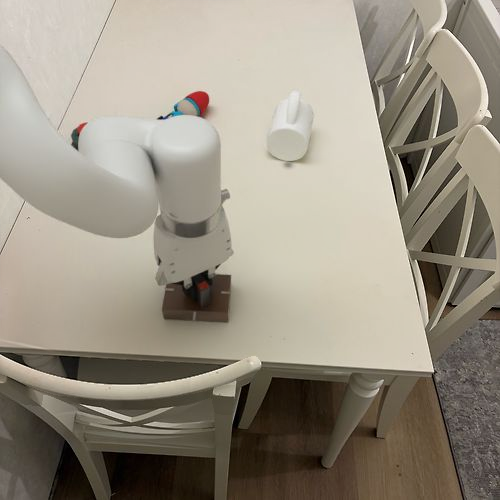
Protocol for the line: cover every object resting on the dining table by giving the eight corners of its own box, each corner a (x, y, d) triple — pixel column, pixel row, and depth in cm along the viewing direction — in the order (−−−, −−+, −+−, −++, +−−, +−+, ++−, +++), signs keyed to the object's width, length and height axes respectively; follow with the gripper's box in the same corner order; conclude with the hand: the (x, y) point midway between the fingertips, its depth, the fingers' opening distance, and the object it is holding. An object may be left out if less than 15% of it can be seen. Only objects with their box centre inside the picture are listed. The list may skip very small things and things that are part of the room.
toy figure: (172, 150, 101) (220, 109, 106) (165, 132, 97) (216, 91, 102) (148, 136, 105) (197, 97, 110) (141, 118, 101) (192, 79, 106)
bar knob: (184, 279, 76) (182, 261, 72) (193, 275, 77) (192, 257, 73) (201, 308, 73) (200, 291, 69) (210, 303, 74) (210, 286, 70)
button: (95, 141, 94) (93, 134, 93) (77, 140, 94) (75, 133, 93) (100, 130, 96) (98, 122, 95) (82, 128, 96) (80, 121, 95)
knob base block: (161, 328, 74) (159, 318, 72) (170, 273, 80) (169, 262, 78) (228, 331, 74) (228, 321, 72) (232, 277, 80) (232, 266, 78)
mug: (264, 158, 99) (269, 108, 89) (273, 126, 105) (278, 77, 96) (304, 164, 98) (313, 115, 89) (310, 132, 104) (319, 83, 95)
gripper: (232, 171, 65) (230, 254, 79) (119, 212, 59) (140, 293, 74) (260, 208, 61) (253, 288, 75) (143, 255, 56) (160, 332, 70)
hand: (197, 290), depth 75 cm, fingers closed on bar knob
